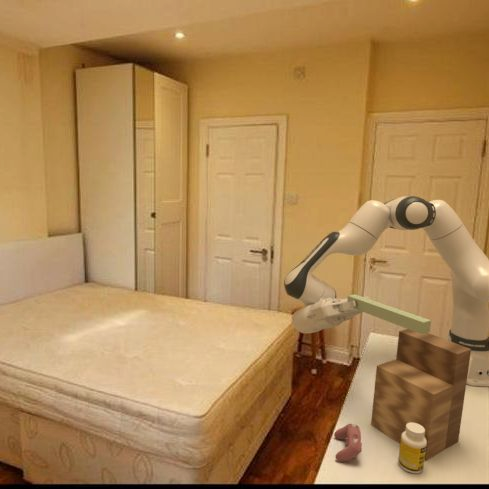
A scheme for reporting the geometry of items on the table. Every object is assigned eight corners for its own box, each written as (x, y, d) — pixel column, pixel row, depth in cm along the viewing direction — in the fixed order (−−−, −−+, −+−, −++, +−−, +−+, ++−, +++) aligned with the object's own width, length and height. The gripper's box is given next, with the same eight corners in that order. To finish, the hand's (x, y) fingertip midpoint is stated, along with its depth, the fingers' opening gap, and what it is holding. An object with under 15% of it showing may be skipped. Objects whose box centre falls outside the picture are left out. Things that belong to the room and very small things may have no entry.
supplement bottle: (421, 478, 89) (426, 438, 87) (395, 468, 91) (400, 429, 90) (425, 463, 93) (429, 425, 91) (400, 454, 96) (404, 417, 94)
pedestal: (371, 424, 107) (379, 336, 103) (403, 409, 115) (412, 327, 111) (425, 460, 94) (437, 361, 90) (458, 441, 102) (471, 349, 97)
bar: (347, 305, 115) (347, 295, 115) (354, 304, 117) (355, 294, 116) (422, 334, 95) (423, 322, 95) (429, 332, 97) (431, 320, 97)
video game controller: (351, 471, 92) (367, 448, 90) (333, 460, 92) (349, 438, 91) (348, 443, 102) (363, 423, 100) (332, 434, 102) (347, 413, 100)
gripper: (300, 307, 119) (331, 296, 108) (348, 298, 130) (381, 287, 119) (306, 328, 117) (338, 319, 106) (355, 317, 128) (388, 307, 117)
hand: (361, 302), depth 113 cm, fingers closed on bar, 3 cm apart
